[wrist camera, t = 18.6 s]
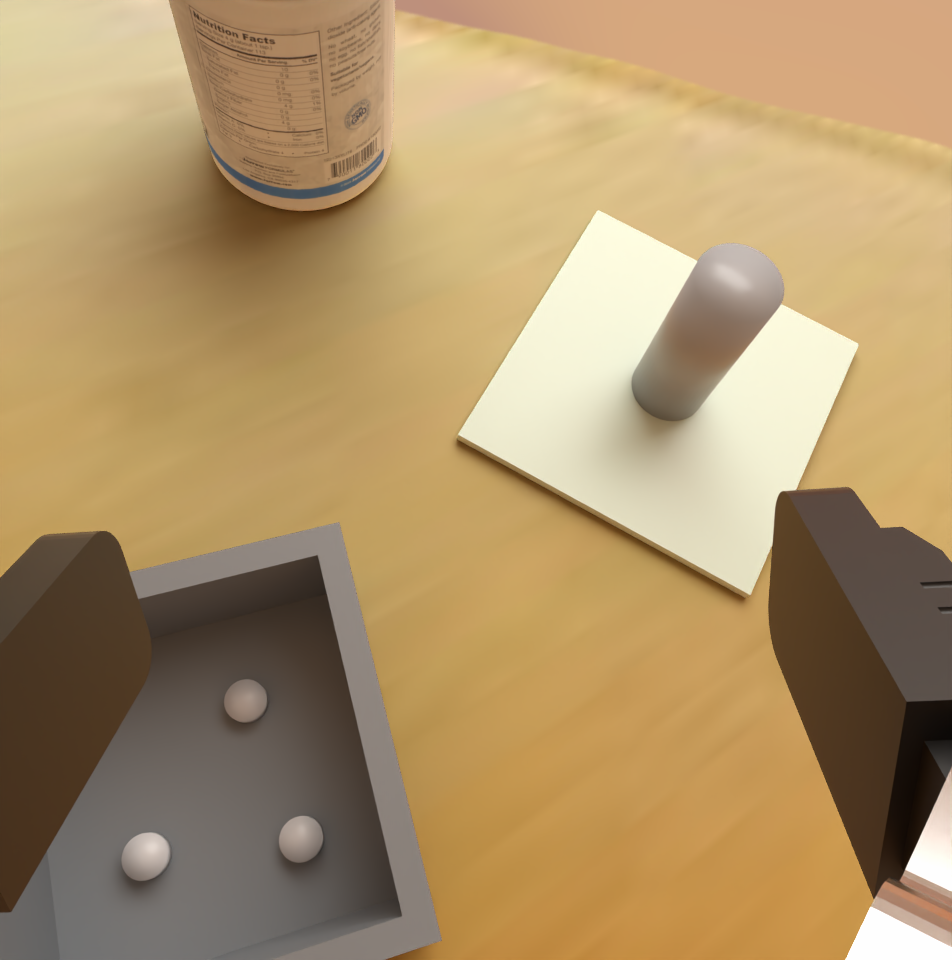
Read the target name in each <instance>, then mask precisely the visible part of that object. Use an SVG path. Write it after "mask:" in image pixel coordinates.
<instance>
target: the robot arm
mask: <svg viewBox="0 0 952 960" xmlns="http://www.w3.org/2000/svg"><path fill="white" fill-rule="evenodd" d="M768 609H769V626H770V633H771V639H772V644H773V648H774V652H775V655H776V658H777V660H778V663H779V665H780V668H781V670H782V673H783V675H784V678H785V680H786V683H787V685H788V688H789V690H790V693H791V695H792V698H793V700H794V703H795V705H796V708H797V710H798V713H799V715H800V717H801V720H802V722H803V725H804V727H805V730H806V732H807V735H808V737H809V740H810V742H811V745H812V747H813V750H814V752H815V755H816V757H817V760H818V762H819V765H820V767H821V770H822V772H823V775H824V777H825V779H826V782H827V784H828V787H829V789H830V792H831V794H832V797H833V799H834V802H835V804H836V807H837V809H838V812H839V814H840V817H841V819H842V822H843V824H844V827H845V829H846V832H847V834H848V836H849V839H850V841H851V844H852V846H853V849H854V851H855V854H856V856H857V859H858V861H859V864H860V866H861V869H862V871H863V874H864V876H865V879H866V881H867V884H868V886H869V889H870V891H871V893H872V896H873V898H874V901H873V903H872V905H871V907H870V909H869V911H868V914H867V916H866V918H865V920H864V922H863V924H862V926H861V928H860V931H859V933H858V935H857V937H856V939H855V941H854V943H853V945H852V947H851V950H850V952H849V954H848V956H847V958H846V960H952V562H951V561H950V560H949V559H948V557H947V556H946V555H945V554H944V553H943V551H942V550H940V549H938V548H937V547H935V546H933V545H932V544H930V543H928V542H927V541H925V540H923V539H922V538H920V537H918V536H917V535H915V534H913V533H912V532H910V531H909V530H907V529H905V528H904V527H892V528H880V527H879V525H878V524H877V523H876V521H875V520H874V518H873V517H872V516H871V514H870V513H869V511H868V510H867V509H866V507H865V506H864V504H863V503H862V502H861V500H860V499H859V498H858V496H857V495H856V493H855V492H854V491H853V490H852V489H851V488H849V487H841V488H824V489H808V490H791V491H782V492H780V494H779V495H778V498H777V501H776V506H775V516H774V530H773V545H772V559H771V574H770V588H769V605H768ZM151 655H152V647H151V638H150V633H149V630H148V627H147V624H146V621H145V618H144V615H143V612H142V609H141V606H140V603H139V600H138V597H137V594H136V591H135V588H134V585H133V582H132V579H131V576H130V573H129V570H128V567H127V564H126V561H125V558H124V555H123V552H122V549H121V546H120V544H119V542H118V541H117V539H116V538H115V537H114V536H113V535H112V534H111V533H109V532H107V531H94V532H78V533H62V534H47V535H43V536H41V537H40V538H39V539H37V540H36V541H35V542H34V543H33V544H32V545H31V546H30V547H29V549H28V550H27V551H26V552H25V553H24V554H23V555H22V556H21V557H20V558H19V559H18V560H17V561H16V562H15V563H14V564H13V565H12V566H11V567H10V568H9V569H8V570H7V571H6V572H5V573H4V575H3V576H2V577H1V578H0V913H8V912H12V910H13V908H14V907H15V905H16V903H17V901H18V900H19V898H20V896H21V895H22V893H23V891H24V889H25V888H26V886H27V884H28V883H29V881H30V879H31V877H32V876H33V874H34V872H35V871H36V869H37V867H38V865H39V864H40V862H41V860H42V859H43V857H44V855H45V854H46V852H47V850H48V848H49V847H50V845H51V843H52V842H53V840H54V838H55V836H56V835H57V833H58V831H59V830H60V828H61V826H62V824H63V823H64V821H65V819H66V818H67V816H68V814H69V812H70V811H71V809H72V807H73V806H74V804H75V802H76V800H77V799H78V797H79V795H80V794H81V792H82V790H83V788H84V787H85V785H86V783H87V782H88V780H89V778H90V776H91V775H92V773H93V771H94V770H95V768H96V766H97V764H98V763H99V761H100V759H101V758H102V756H103V754H104V752H105V751H106V749H107V747H108V746H109V744H110V742H111V740H112V739H113V737H114V735H115V734H116V732H117V730H118V728H119V727H120V725H121V723H122V722H123V720H124V718H125V716H126V715H127V713H128V711H129V710H130V708H131V706H132V704H133V703H134V701H135V699H136V698H137V696H138V694H139V692H140V691H141V689H142V687H143V686H144V684H145V682H146V679H147V677H148V674H149V670H150V665H151Z"/></svg>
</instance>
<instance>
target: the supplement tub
mask: <svg viewBox="0 0 952 960" xmlns="http://www.w3.org/2000/svg"><path fill="white" fill-rule="evenodd" d="M169 3H170V6H171V10H172V13H173V17H174V21H175V25H176V28H177V32H178V36H179V39H180V43H181V47H182V50H183V54H184V58H185V61H186V65H187V69H188V72H189V76H190V79H191V83H192V87H193V90H194V94H195V98H196V101H197V105H198V109H199V112H200V116H201V120H202V123H203V127H204V131H205V135H206V138H207V141H208V144H209V148H210V151H211V154H212V157H213V159H214V161H215V163H216V165H217V167H218V168H219V170H220V171H221V172H222V174H223V175H224V176H225V177H226V179H227V180H228V181H229V182H230V183H231V184H232V185H233V186H235V187H236V188H237V189H238V190H240V191H241V192H242V193H244V194H245V195H247V196H249V197H250V198H252V199H254V200H256V201H258V202H261V203H263V204H266V205H269V206H272V207H276V208H280V209H285V210H295V211H312V210H320V209H325V208H329V207H333V206H336V205H339V204H342V203H344V202H346V201H349V200H351V199H352V198H354V197H356V196H357V195H359V194H360V193H362V192H363V191H364V190H365V189H367V188H368V187H369V186H370V185H371V184H372V183H373V182H374V181H375V180H376V179H377V177H378V176H379V175H380V173H381V172H382V170H383V168H384V167H385V165H386V163H387V160H388V158H389V155H390V151H391V147H392V137H393V102H394V38H395V0H169Z"/></svg>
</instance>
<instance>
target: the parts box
mask: <svg viewBox="0 0 952 960" xmlns="http://www.w3.org/2000/svg"><path fill="white" fill-rule="evenodd" d="M129 573H130V576H131V579H132V582H133V585H134V588H135V591H136V594H137V597H138V600H139V603H140V606H141V609H142V612H143V615H144V618H145V621H146V624H147V627H148V630H149V633H150V638H151V647H152V655H151V665H150V670H149V674H148V677H147V679H146V682H145V684H144V686H143V687H142V689H141V691H140V692H139V694H138V696H137V698H136V699H135V701H134V703H133V704H132V706H131V708H130V710H129V711H128V713H127V715H126V716H125V718H124V720H123V722H122V723H121V725H120V727H119V728H118V730H117V732H116V734H115V735H114V737H113V739H112V740H111V742H110V744H109V746H108V747H107V749H106V751H105V752H104V754H103V756H102V758H101V759H100V761H99V763H98V764H97V766H96V768H95V770H94V771H93V773H92V775H91V776H90V778H89V780H88V782H87V783H86V785H85V787H84V788H83V790H82V792H81V794H80V795H79V797H78V799H77V800H76V802H75V804H74V806H73V807H72V809H71V811H70V812H69V814H68V816H67V818H66V819H65V821H64V823H63V824H62V826H61V828H60V830H59V831H58V833H57V835H56V836H55V838H54V840H53V842H52V843H51V845H50V847H49V848H48V850H47V852H46V854H45V855H44V857H43V859H42V860H41V862H40V864H39V865H38V867H37V869H36V871H35V872H34V874H33V876H32V877H31V879H30V881H29V883H28V884H27V886H26V888H25V889H24V891H23V893H22V895H21V896H20V898H19V900H18V901H17V903H16V905H15V907H14V908H13V910H12V912H8V913H0V960H385V959H388V958H391V957H394V956H397V955H400V954H403V953H406V952H409V951H412V950H415V949H418V948H421V947H424V946H427V945H430V944H433V943H436V942H439V941H442V939H441V935H440V931H439V927H438V923H437V919H436V915H435V911H434V906H433V902H432V898H431V894H430V890H429V886H428V882H427V878H426V874H425V870H424V866H423V862H422V858H421V853H420V849H419V845H418V841H417V837H416V833H415V829H414V825H413V821H412V817H411V813H410V809H409V805H408V801H407V796H406V792H405V788H404V784H403V780H402V776H401V772H400V768H399V764H398V760H397V756H396V752H395V748H394V744H393V739H392V735H391V731H390V727H389V723H388V719H387V715H386V711H385V707H384V703H383V699H382V695H381V691H380V686H379V682H378V678H377V674H376V670H375V666H374V662H373V658H372V654H371V650H370V646H369V642H368V638H367V634H366V629H365V625H364V621H363V617H362V613H361V609H360V605H359V601H358V597H357V593H356V589H355V585H354V581H353V577H352V572H351V568H350V564H349V560H348V556H347V552H346V548H345V544H344V540H343V536H342V532H341V528H340V524H339V522H338V523H334V524H330V525H326V526H321V527H317V528H313V529H309V530H305V531H301V532H296V533H292V534H288V535H284V536H280V537H275V538H271V539H267V540H263V541H259V542H254V543H250V544H246V545H242V546H238V547H234V548H229V549H225V550H221V551H217V552H213V553H208V554H204V555H200V556H196V557H192V558H188V559H183V560H179V561H175V562H171V563H167V564H162V565H158V566H154V567H150V568H146V569H142V570H137V571H133V572H129Z"/></svg>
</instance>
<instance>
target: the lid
mask: <svg viewBox="0 0 952 960" xmlns="http://www.w3.org/2000/svg"><path fill="white" fill-rule="evenodd" d="M783 296H784V283H783V279H782V276H781V274H780V272H779V270H778V268H777V267H776V266H775V264H774V263H773V262H772V261H771V260H770V259H769V258H768V257H767V256H766V255H764V254H763V253H761V252H760V251H758V250H756V249H754V248H752V247H749V246H746V245H742V244H736V243H727V244H721V245H717V246H714V247H712V248H710V249H708V250H707V251H706V252H705V253H703V254H702V256H701V257H700V258H699V260H698V261H696V260H694V259H692V258H690V257H688V256H686V255H685V254H683V253H681V252H679V251H677V250H675V249H673V248H671V247H669V246H667V245H665V244H663V243H661V242H659V241H657V240H655V239H653V238H651V237H650V236H648V235H646V234H644V233H642V232H640V231H638V230H636V229H634V228H632V227H630V226H628V225H626V224H624V223H622V222H620V221H618V220H616V219H614V218H613V217H611V216H609V215H607V214H605V213H603V212H601V211H599V210H597V212H596V214H595V215H594V217H593V218H592V220H591V222H590V223H589V225H588V227H587V228H586V230H585V231H584V233H583V235H582V236H581V238H580V239H579V241H578V243H577V244H576V246H575V247H574V249H573V251H572V252H571V254H570V255H569V257H568V259H567V260H566V262H565V263H564V265H563V267H562V268H561V270H560V272H559V273H558V275H557V276H556V278H555V280H554V281H553V283H552V284H551V286H550V288H549V289H548V291H547V292H546V294H545V296H544V297H543V299H542V300H541V302H540V304H539V305H538V307H537V308H536V310H535V312H534V313H533V315H532V316H531V318H530V320H529V321H528V323H527V325H526V326H525V328H524V329H523V331H522V333H521V334H520V336H519V337H518V339H517V341H516V342H515V344H514V345H513V347H512V349H511V350H510V352H509V353H508V355H507V357H506V358H505V360H504V361H503V363H502V365H501V366H500V368H499V370H498V371H497V373H496V374H495V376H494V378H493V379H492V381H491V382H490V384H489V386H488V387H487V389H486V390H485V392H484V394H483V395H482V397H481V398H480V400H479V402H478V403H477V405H476V406H475V408H474V410H473V411H472V413H471V414H470V416H469V418H468V419H467V421H466V423H465V424H464V426H463V427H462V429H461V431H460V432H459V434H458V437H457V440H459V441H461V442H463V443H465V444H466V445H468V446H470V447H472V448H474V449H475V450H477V451H479V452H481V453H483V454H485V455H486V456H488V457H490V458H492V459H494V460H495V461H497V462H499V463H501V464H503V465H505V466H506V467H508V468H510V469H512V470H514V471H515V472H517V473H519V474H521V475H523V476H524V477H526V478H528V479H530V480H532V481H534V482H535V483H537V484H539V485H541V486H543V487H544V488H546V489H548V490H550V491H552V492H554V493H555V494H557V495H559V496H561V497H563V498H564V499H566V500H568V501H570V502H572V503H574V504H575V505H577V506H579V507H581V508H583V509H584V510H586V511H588V512H590V513H592V514H594V515H595V516H597V517H599V518H601V519H603V520H604V521H606V522H608V523H610V524H612V525H614V526H615V527H617V528H619V529H621V530H623V531H624V532H626V533H628V534H630V535H632V536H634V537H635V538H637V539H639V540H641V541H643V542H644V543H646V544H648V545H650V546H652V547H654V548H655V549H657V550H659V551H661V552H663V553H664V554H666V555H668V556H670V557H672V558H674V559H675V560H677V561H679V562H681V563H683V564H684V565H686V566H688V567H690V568H692V569H694V570H695V571H697V572H699V573H701V574H703V575H704V576H706V577H708V578H710V579H712V580H714V581H715V582H717V583H719V584H721V585H723V586H724V587H726V588H728V589H730V590H732V591H734V592H735V593H737V594H739V595H741V596H743V597H744V598H746V597H748V596H750V595H751V593H752V590H753V588H754V586H755V583H756V581H757V579H758V576H759V574H760V572H761V569H762V567H763V565H764V563H765V560H766V558H767V556H768V553H769V551H770V549H771V546H772V544H773V530H774V516H775V506H776V501H777V498H778V495H779V494H780V492H782V491H791V490H796V489H797V486H798V484H799V482H800V479H801V477H802V475H803V472H804V470H805V468H806V465H807V463H808V461H809V459H810V456H811V454H812V452H813V449H814V447H815V445H816V442H817V440H818V438H819V435H820V433H821V431H822V429H823V426H824V424H825V422H826V419H827V417H828V415H829V412H830V410H831V408H832V405H833V403H834V401H835V398H836V396H837V394H838V392H839V389H840V387H841V385H842V382H843V380H844V378H845V375H846V373H847V371H848V368H849V366H850V364H851V361H852V359H853V357H854V355H855V352H856V350H857V348H858V345H859V344H858V343H856V342H854V341H852V340H850V339H848V338H846V337H844V336H842V335H840V334H838V333H836V332H834V331H832V330H830V329H829V328H827V327H825V326H823V325H821V324H819V323H817V322H815V321H813V320H811V319H809V318H807V317H805V316H803V315H801V314H799V313H797V312H795V311H794V310H792V309H790V308H788V307H786V306H784V305H782V304H781V303H782V300H783Z"/></svg>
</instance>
